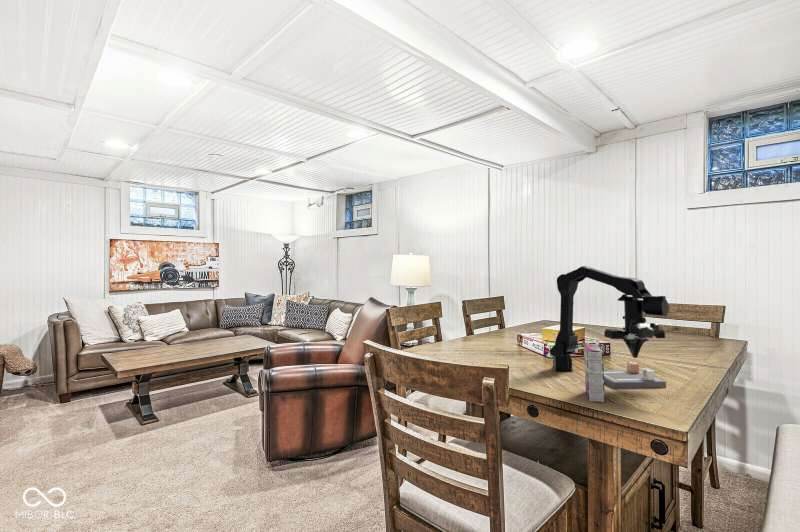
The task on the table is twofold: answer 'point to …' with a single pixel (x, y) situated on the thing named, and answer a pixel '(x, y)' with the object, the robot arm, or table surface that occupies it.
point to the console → (630, 380)
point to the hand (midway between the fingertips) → (634, 357)
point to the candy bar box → (594, 372)
